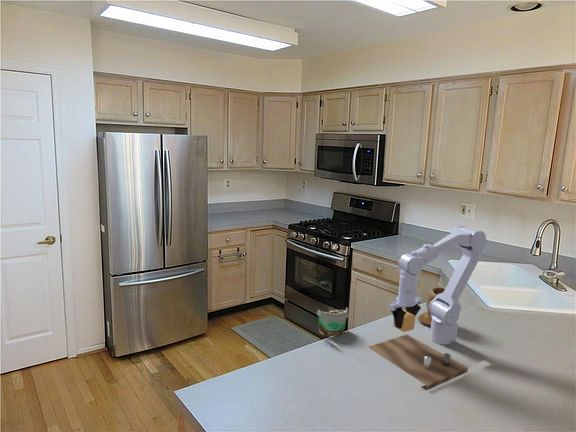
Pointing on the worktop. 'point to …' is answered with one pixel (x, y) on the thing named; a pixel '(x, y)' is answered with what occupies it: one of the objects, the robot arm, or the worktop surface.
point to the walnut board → (418, 360)
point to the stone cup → (426, 316)
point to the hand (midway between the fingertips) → (403, 325)
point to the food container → (332, 322)
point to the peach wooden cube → (407, 322)
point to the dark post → (446, 359)
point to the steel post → (427, 362)
